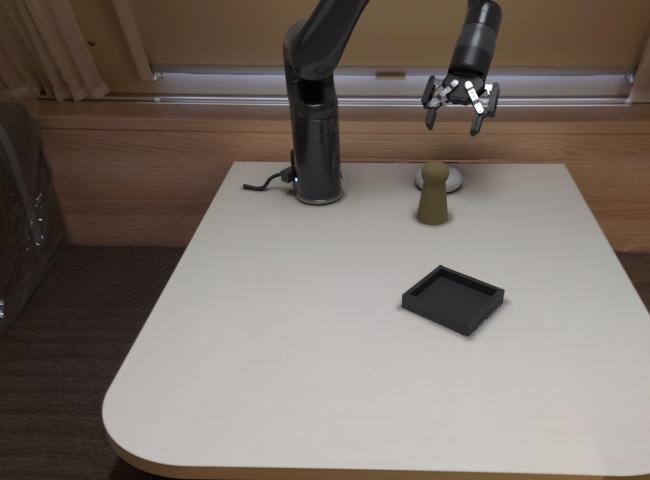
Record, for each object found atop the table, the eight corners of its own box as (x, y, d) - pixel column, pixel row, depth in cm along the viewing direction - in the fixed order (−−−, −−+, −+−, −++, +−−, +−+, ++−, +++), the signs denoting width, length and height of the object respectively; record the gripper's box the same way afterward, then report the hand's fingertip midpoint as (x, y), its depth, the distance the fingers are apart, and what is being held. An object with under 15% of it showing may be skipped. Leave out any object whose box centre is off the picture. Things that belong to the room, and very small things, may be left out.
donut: (417, 175, 128) (412, 193, 120) (417, 160, 126) (413, 178, 118) (462, 178, 127) (460, 197, 118) (463, 163, 125) (462, 181, 117)
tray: (401, 306, 88) (401, 294, 86) (439, 276, 94) (440, 264, 93) (468, 336, 82) (469, 323, 80) (503, 301, 88) (505, 289, 87)
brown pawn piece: (446, 226, 108) (450, 171, 102) (414, 223, 109) (417, 168, 103) (449, 211, 113) (453, 158, 107) (418, 209, 114) (421, 156, 108)
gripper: (434, 40, 110) (410, 117, 108) (508, 46, 105) (485, 127, 103) (441, 62, 117) (419, 135, 115) (510, 69, 112) (489, 145, 110)
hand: (450, 131), depth 109 cm, fingers open, 8 cm apart
